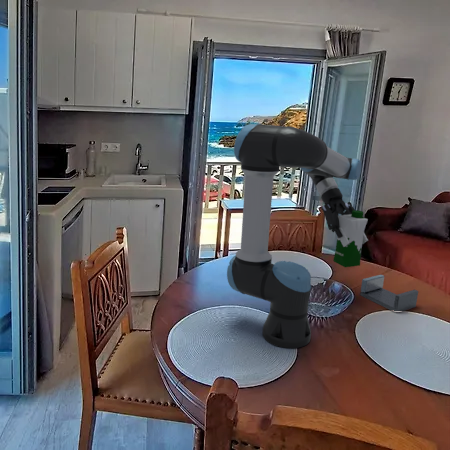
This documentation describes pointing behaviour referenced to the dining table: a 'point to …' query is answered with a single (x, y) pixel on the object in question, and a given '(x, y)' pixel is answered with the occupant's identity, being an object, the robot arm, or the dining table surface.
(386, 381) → the dining table surface
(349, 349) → the dining table surface
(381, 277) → the block
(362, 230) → the soya milk
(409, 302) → the vise base
